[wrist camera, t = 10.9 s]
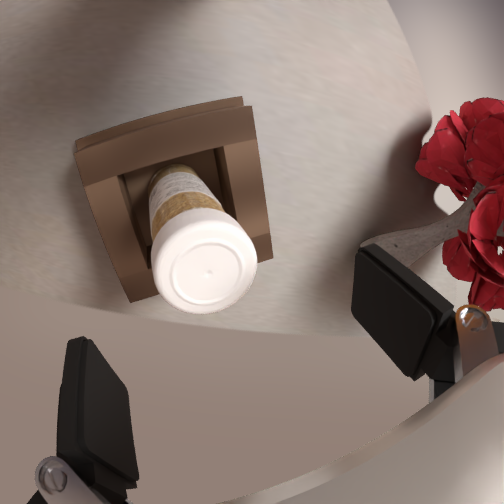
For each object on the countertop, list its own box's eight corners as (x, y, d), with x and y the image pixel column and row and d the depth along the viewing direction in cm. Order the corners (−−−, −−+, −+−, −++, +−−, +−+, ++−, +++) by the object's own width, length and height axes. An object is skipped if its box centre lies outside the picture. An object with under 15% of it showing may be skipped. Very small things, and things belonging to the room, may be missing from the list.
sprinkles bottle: (187, 222, 25) (230, 327, 14) (138, 203, 23) (137, 304, 12) (211, 174, 24) (279, 246, 13) (161, 152, 22) (181, 205, 11)
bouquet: (382, 256, 47) (524, 189, 33) (407, 389, 30) (596, 296, 16) (320, 152, 37) (500, 67, 22) (340, 299, 20) (630, 149, 5)
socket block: (78, 139, 20) (62, 147, 15) (237, 96, 23) (259, 94, 18) (126, 278, 27) (125, 311, 22) (260, 237, 30) (281, 262, 25)
